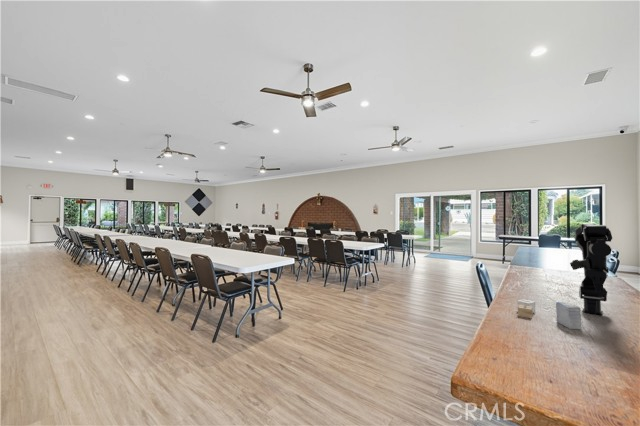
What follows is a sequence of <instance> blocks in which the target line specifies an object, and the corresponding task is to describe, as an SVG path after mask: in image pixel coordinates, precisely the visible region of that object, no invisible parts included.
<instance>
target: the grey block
mask: <svg viewBox="0 0 640 426" xmlns="http://www.w3.org/2000/svg"><path fill="white" fill-rule="evenodd" d="M519 305H524V306H530V307H532V309H533V314H535V313H536V301H533V300H527V299H518V300H517V307H518V306H519Z"/></svg>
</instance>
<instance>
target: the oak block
mask: <svg viewBox="0 0 640 426" xmlns="http://www.w3.org/2000/svg"><path fill="white" fill-rule="evenodd" d="M517 316H518V317H523V318H529V319H532V318H533V316H534V313H533V309H532V307H530V306H524V305H519V306H518V305H517Z"/></svg>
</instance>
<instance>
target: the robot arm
mask: <svg viewBox="0 0 640 426" xmlns="http://www.w3.org/2000/svg"><path fill="white" fill-rule="evenodd" d="M574 231H575V232H574V241H575V242H576V245H577V247H578V248H579V249H580V251H581V255H582V259H580V260H579V259H574V260H572V261H570V262H569V265H570V267H571V268H572V270H573V271H577V270H579V269H583V272H584V279H582V281H581V284H580V285H579V289H578V290H579V291H578V295H579V296H578V297H579V298H580V299H582V300H583V308H582V311H581V313H587V314H593V315H597V316H598V315H599V316H603V314H604V313H603V310H602V302H607V300H608V299H607V298H608V290H606V288H605V287H604V284H605V282H606V280H607V278H608V274H609V272H610V270H609V269H610V268H609V267H608V266H607V256H609V255H610V254H611V253H612V248H611V246H610V245H609V244H608V243H607V242H610V243H612V240H613V236H612V232H611V230H610V228H609V227H607V225H605V224H598V225H597V224H596V223H590V222H588V223H587V222H584V223H581V224H580V227H578V228H577V229H576V230H574Z"/></svg>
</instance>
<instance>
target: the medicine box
mask: <svg viewBox="0 0 640 426" xmlns="http://www.w3.org/2000/svg"><path fill="white" fill-rule="evenodd" d="M555 303H556V304H555V306H556V307H555V312H556V322H557V323H558V324H560V325H561V326H564V327H566V328H567V329H569V330H579V331H580V330H582V328H583V327H582V314H581V313H582V311H581V307H579V306H576V305H575V304H572V303H569V302H566V301H556V302H555Z"/></svg>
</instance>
